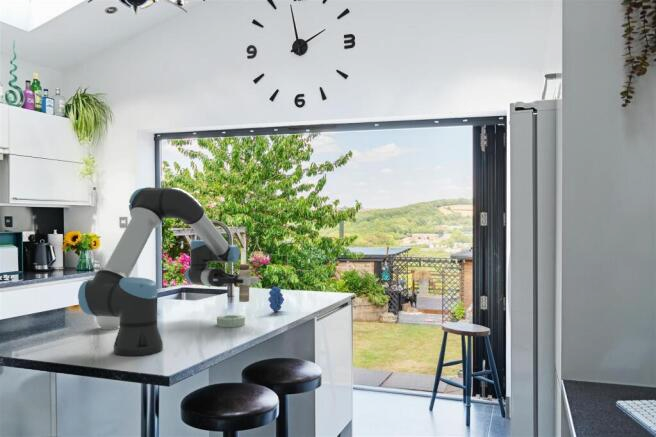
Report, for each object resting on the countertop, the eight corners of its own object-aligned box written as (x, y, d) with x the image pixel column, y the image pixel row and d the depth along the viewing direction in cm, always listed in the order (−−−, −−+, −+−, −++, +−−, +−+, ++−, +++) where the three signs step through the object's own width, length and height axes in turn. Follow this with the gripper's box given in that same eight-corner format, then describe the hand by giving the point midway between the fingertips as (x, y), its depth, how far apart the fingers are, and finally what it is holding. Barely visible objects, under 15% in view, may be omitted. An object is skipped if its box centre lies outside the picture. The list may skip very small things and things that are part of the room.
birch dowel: (246, 302, 221) (246, 265, 221) (237, 301, 222) (237, 264, 222) (250, 300, 225) (251, 264, 225) (241, 300, 226) (241, 263, 226)
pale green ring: (237, 327, 215) (237, 320, 215) (212, 326, 218) (212, 318, 218) (249, 322, 226) (249, 315, 226) (224, 321, 229) (224, 313, 229)
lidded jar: (114, 331, 208) (114, 306, 208) (89, 330, 210) (89, 305, 210) (130, 325, 218) (130, 302, 218) (106, 324, 221) (106, 301, 220)
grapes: (278, 314, 244) (278, 287, 244) (265, 313, 247) (265, 287, 247) (289, 310, 255) (289, 284, 255) (276, 309, 258) (276, 284, 258)
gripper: (228, 284, 241) (268, 288, 227) (198, 288, 228) (238, 292, 214) (228, 267, 241) (268, 270, 227) (198, 270, 228) (238, 273, 214)
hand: (253, 281), depth 221 cm, fingers closed on birch dowel, 4 cm apart
